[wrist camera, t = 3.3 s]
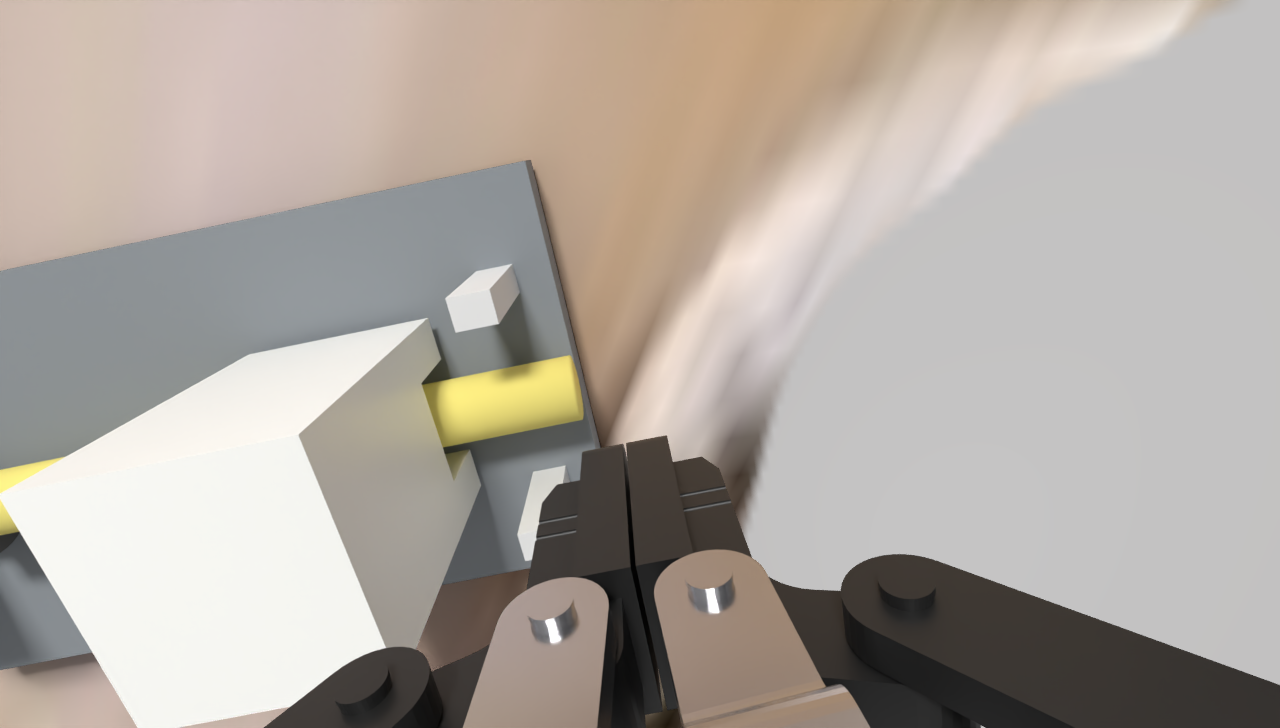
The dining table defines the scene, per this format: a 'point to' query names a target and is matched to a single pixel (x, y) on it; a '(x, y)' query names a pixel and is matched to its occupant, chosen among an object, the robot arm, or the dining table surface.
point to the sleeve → (256, 527)
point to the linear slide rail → (294, 314)
